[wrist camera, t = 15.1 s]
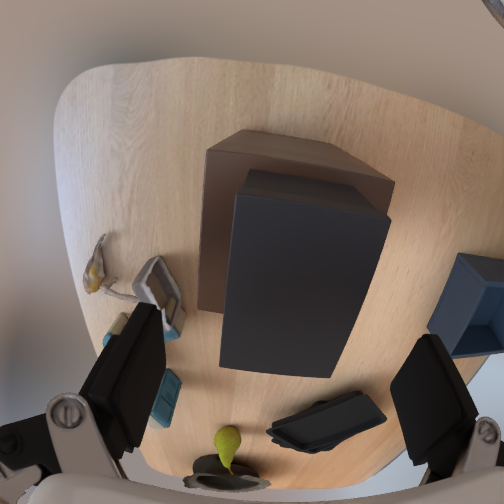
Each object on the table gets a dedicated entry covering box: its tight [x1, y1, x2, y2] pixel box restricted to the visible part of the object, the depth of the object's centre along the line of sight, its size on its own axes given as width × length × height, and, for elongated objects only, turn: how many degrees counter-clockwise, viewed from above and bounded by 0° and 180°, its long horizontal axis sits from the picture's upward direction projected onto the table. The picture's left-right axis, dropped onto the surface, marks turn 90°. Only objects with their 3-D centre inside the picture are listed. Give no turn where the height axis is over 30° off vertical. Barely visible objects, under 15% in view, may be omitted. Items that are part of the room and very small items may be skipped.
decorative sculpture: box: [83, 234, 183, 332], centre depth 35 cm, size 16×10×7 cm, turn 85°
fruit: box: [214, 426, 241, 475], centre depth 51 cm, size 6×6×12 cm
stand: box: [197, 130, 395, 314], centre depth 24 cm, size 10×10×18 cm
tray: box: [266, 391, 387, 454], centre depth 50 cm, size 30×23×5 cm
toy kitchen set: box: [103, 297, 186, 429], centre depth 41 cm, size 18×14×11 cm
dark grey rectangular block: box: [219, 169, 391, 378], centre depth 14 cm, size 9×6×5 cm, turn 173°
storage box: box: [427, 253, 504, 359], centre depth 34 cm, size 16×14×8 cm
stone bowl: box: [183, 455, 271, 492], centre depth 65 cm, size 25×25×9 cm
